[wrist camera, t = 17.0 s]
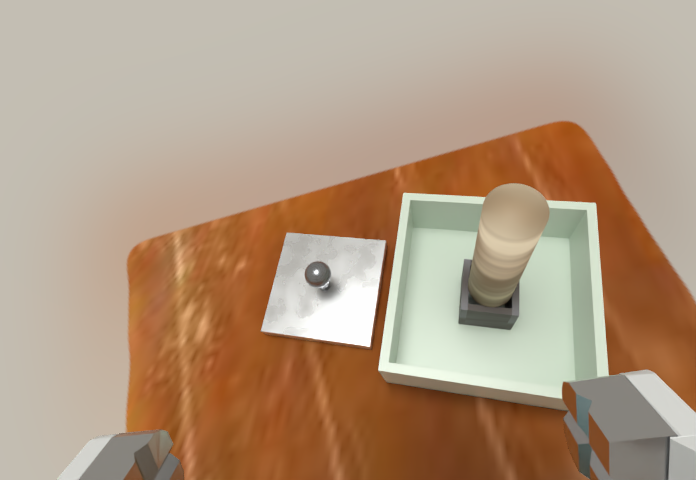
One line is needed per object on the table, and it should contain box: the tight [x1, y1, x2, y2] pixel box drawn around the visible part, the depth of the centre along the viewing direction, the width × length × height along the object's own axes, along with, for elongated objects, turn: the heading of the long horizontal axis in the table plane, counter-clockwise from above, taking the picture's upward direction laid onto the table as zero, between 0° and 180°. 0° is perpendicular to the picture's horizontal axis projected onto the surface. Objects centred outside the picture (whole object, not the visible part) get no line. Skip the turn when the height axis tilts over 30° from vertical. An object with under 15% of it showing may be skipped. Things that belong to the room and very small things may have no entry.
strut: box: [458, 183, 550, 330], centre depth 35 cm, size 5×5×19 cm
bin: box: [378, 193, 609, 411], centre depth 41 cm, size 18×18×7 cm
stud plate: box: [261, 233, 387, 350], centre depth 46 cm, size 12×12×6 cm
